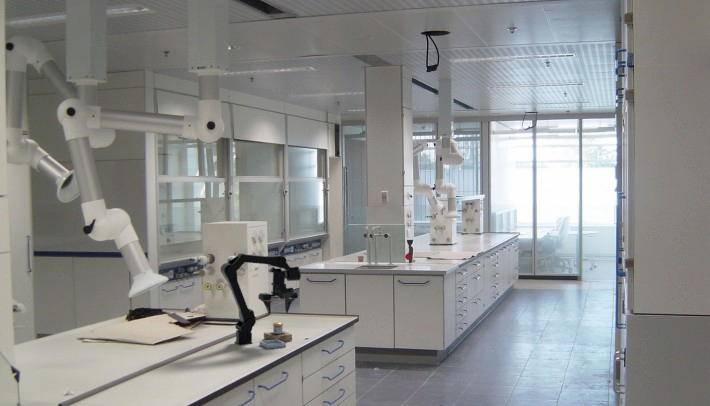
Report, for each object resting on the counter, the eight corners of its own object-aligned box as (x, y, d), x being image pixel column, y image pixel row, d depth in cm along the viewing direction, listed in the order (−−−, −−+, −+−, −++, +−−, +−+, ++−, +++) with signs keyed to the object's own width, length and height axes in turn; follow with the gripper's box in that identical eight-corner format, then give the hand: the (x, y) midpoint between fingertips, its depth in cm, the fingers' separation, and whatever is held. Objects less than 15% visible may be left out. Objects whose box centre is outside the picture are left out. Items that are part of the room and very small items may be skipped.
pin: (275, 341, 349) (275, 324, 349) (271, 339, 353) (271, 323, 353) (284, 340, 351) (284, 323, 351) (280, 338, 356) (280, 322, 355)
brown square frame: (273, 343, 345) (273, 336, 345) (263, 339, 354) (263, 332, 354) (291, 340, 351) (291, 334, 351) (282, 336, 359) (282, 330, 359)
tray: (268, 349, 333) (268, 345, 333) (259, 345, 340) (259, 341, 340) (285, 346, 338) (285, 343, 338) (276, 343, 345) (276, 339, 345)
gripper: (268, 284, 340) (268, 318, 340) (303, 282, 350) (303, 314, 350) (258, 281, 349) (257, 314, 349) (292, 279, 359) (292, 311, 360)
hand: (278, 313), depth 352 cm, fingers open, 9 cm apart
